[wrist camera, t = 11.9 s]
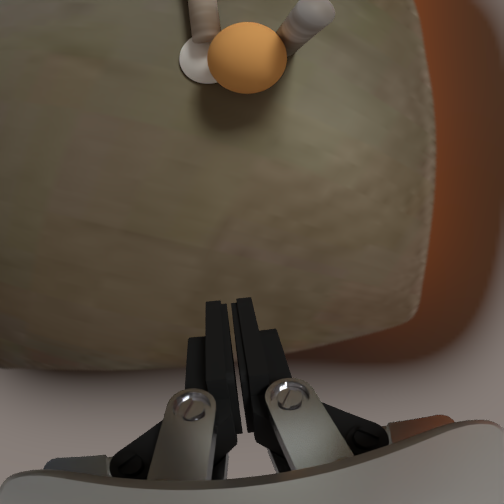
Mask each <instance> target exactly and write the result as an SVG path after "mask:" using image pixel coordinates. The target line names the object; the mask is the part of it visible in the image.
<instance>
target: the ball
mask: <svg viewBox="0 0 504 504" xmlns="http://www.w3.org/2000/svg"><path fill="white" fill-rule="evenodd" d="M207 62H208V67H209V70H210V73H211V74H212V76H213V77H214V79H215V80H216V81H217V82H218V83H219V84H220V85H221V86H223V87H224V88H226V89H228V90H230V91H233V92H236V93H242V94H252V93H257V92H261V91H264V90H266V89H268V88H270V87H271V86H272V85H274V84H275V83H276V82H277V81H278V80H279V79H280V77H281V76H282V74H283V72H284V70H285V68H286V63H287V53H286V48H285V45H284V43H283V41H282V40H281V38H280V37H279V36H278V35H277V34H276V33H275V32H274V31H273V30H271V29H270V28H268V27H266V26H264V25H261V24H258V23H253V22H242V23H237V24H233V25H230V26H228V27H226V28H225V29H223V30H222V31H220V32H219V33H218V34H217V35H216V36H215V38H214V39H213V40H212V42H211V44H210V46H209V49H208V54H207Z"/></svg>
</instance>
